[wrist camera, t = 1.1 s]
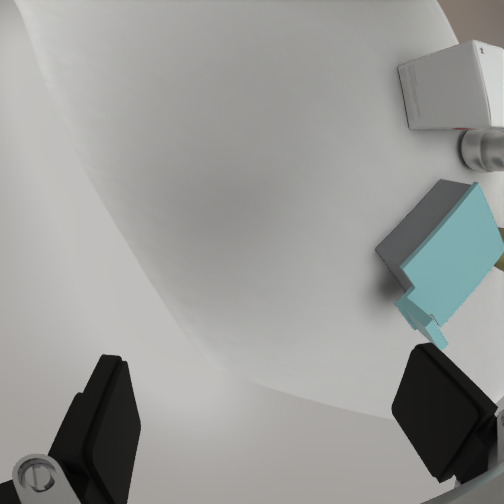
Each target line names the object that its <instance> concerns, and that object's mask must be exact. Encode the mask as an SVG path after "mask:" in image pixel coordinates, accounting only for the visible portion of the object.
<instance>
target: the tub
mask: <svg viewBox="0 0 504 504" xmlns="http://www.w3.org/2000/svg"><path fill="white" fill-rule="evenodd" d="M470 186H471V185H469V184H464V183H458V182H453V181H447V180H441V179H440V180H439V182H438V183H437V184H436V185H435V186H434V187H433V188H432V189H431V191H430V192H429V193H428V194H427V195H426V196H425V197H424V198H423V199H422V200H421V202H420V203H419V204H418V205H417V206H416V207H415V208H414V209H413V210H412V211H411V212H410V213H409V214H408V215H407V217H406V218H405V219H404V220H403V221H402V222H401V223H400V224H399V225H398V226H397V227H396V228H395V229H394V230H393V231H392V232H391V233H390V234H389V235H388V236H387V237H386V238H385V239H384V240H383V241H382V242H381V243H380V244H379V245H378V246H377V247H376V248H375V250H376V251H377V253H378V254H379V255H380V257H381V258H382V259H383V261H384V262H385V263H386V265H387V266H388V267H389V269H390V270H391V272H392V273H393V274H394V276H395V277H396V278H397V280H398V281H399V283H400V284H401V285H402V287H403V288H404V290H405V291H407V290H408V289H409V288H410V287H411V286H412V284H411V283H410V281H409V280H408V279H407V277H406V276H405V274H404V273H403V271H402V270H401V268H400V266H401V264H402V263H403V262H404V261H405V260H406V259H407V258H408V257H409V256H410V255H411V254H412V253H413V252H414V251H415V250H416V249H417V248H418V247H419V246H420V244H421V243H422V242H423V241H424V240H425V239H426V238H427V237H428V236H429V235H430V233H431V232H432V231H433V230H434V229H435V228H436V227H437V226H438V225H439V223H440V222H441V221H442V220H443V219H444V218H445V216H446V215H447V214H448V213H449V212H450V211H451V209H452V208H453V207H454V206H455V205H456V204H457V202H458V201H459V200H460V199H461V198H462V196H463V195H464V194H465V193H466V191H467V190H468V189H469V188H470ZM431 316H432V315H431Z"/></svg>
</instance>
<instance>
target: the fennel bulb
mask: <svg viewBox="0 0 504 504" xmlns="http://www.w3.org/2000/svg"><path fill="white" fill-rule="evenodd" d="M498 230H499V232H500V235H501V238H502V241H503V243H504V228H499V227H498ZM494 266H495V267H497V268H498V269H500V270H502V271H504V252H503V254H502V255H501V256H500V258H499V259H498V261H497V262H496V263H495V265H494Z"/></svg>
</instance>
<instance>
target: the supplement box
mask: <svg viewBox="0 0 504 504" xmlns="http://www.w3.org/2000/svg"><path fill="white" fill-rule="evenodd" d="M398 70H399V75H400V79H401V84H402V89H403V94H404V100H405V105H406V111H407V117H408V123H409V129H410V130H470V129H504V49H502V48H500V47H497V46H492V45H489V44H486V43H483V42H480V41H476V40H471V41H468V42H464V43H461V44H458V45H455V46H452V47H449V48H446V49H443V50H440V51H437V52H435V53H432V54H429V55H426V56H424V57H421V58H418V59H416V60H413V61H411V62H408V63H406V64H403V65H401V66H398Z"/></svg>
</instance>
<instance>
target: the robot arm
mask: <svg viewBox="0 0 504 504" xmlns="http://www.w3.org/2000/svg"><path fill="white" fill-rule="evenodd" d="M497 408H498V407H497V406H496V404H495V403H494V402H493V401H492V400H491V399H490V398H489V397H488V396H487V395H486V394H485V393H484V392H483V391H482V390H481V389H480V388H479V387H478V386H477V385H476V384H475V383H474V382H473V381H472V380H471V379H470V378H469V377H468V376H467V375H466V374H465V373H464V372H462V371H461V370H460V369H459V368H458V367H457V366H456V365H455V364H454V363H453V362H452V361H451V360H450V359H449V358H448V357H447V356H446V355H445V354H444V353H443V352H442V351H441V350H440V349H438V348H437V347H436V346H435V345H434V344H433V343H424V344H418V345H416V346H415V348H414V349H413V350H412V351H411V353H410V356H409V359H408V363H407V366H406V368H405V371H404V374H403V377H402V380H401V383H400V385H399V388H398V391H397V394H396V396H395V399H394V401H393V404H392V414H393V416H394V417H395V419H396V420H397V422H398V423H399V425H400V426H401V428H402V430H403V431H404V433H405V434H406V436H407V437H408V439H409V440H410V442H411V444H412V445H413V447H414V448H415V450H416V451H417V453H418V455H419V456H420V458H421V459H422V461H423V462H424V464H425V466H426V467H427V469H428V470H429V472H430V473H431V475H432V476H433V477H436V478H437V480H438V481H439V483H441V482H444V481H446V480H448V479H450V478H452V476H453V475H455V476H456V481H455V487H454V489H452V490H450V491H448V492H446V493H444V494H442V495H440V496H437V497H435V498H433V499H430V500H428V501H426V502H423V503H421V504H504V410H502V411H501V412H499V414H498V416H497V417H496V416H495V415H494V413H495V412H496V410H497ZM140 423H141V422H140V418H139V414H138V410H137V405H136V401H135V397H134V392H133V388H132V383H131V378H130V373H129V368H128V363H127V362H126V361H122V358H121V357H120V356H115V355H104V354H103V355H102V356H101V357H100V359H99V361H98V363H97V365H96V367H95V369H94V371H93V373H92V375H91V377H90V379H89V381H88V383H87V385H86V387H85V389H84V392H83V393H80V392H79V393H77V394H76V396H75V397H74V399H73V401H72V403H71V405H70V407H69V409H68V412H67V413H66V415H65V418H64V420H63V422H62V424H61V426H60V428H59V431H58V433H57V435H56V437H55V439H54V442H53V444H52V446H51V449H50V451H49V453H48V456H46V455H44V454H31V455H27V456H25V457H23V458H21V459H20V460H19V461H18V462H17V463H16V465H15V466H14V468H13V473H12V477H13V479H12V480H9V481H7V482H4V483H1V484H0V504H127V500H128V494H129V488H130V483H131V477H132V472H133V466H134V461H135V456H136V451H137V445H138V441H139V436H140V431H141V424H140Z"/></svg>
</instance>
